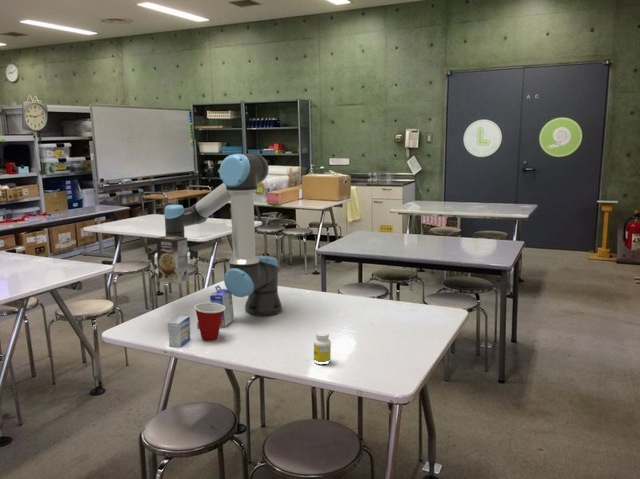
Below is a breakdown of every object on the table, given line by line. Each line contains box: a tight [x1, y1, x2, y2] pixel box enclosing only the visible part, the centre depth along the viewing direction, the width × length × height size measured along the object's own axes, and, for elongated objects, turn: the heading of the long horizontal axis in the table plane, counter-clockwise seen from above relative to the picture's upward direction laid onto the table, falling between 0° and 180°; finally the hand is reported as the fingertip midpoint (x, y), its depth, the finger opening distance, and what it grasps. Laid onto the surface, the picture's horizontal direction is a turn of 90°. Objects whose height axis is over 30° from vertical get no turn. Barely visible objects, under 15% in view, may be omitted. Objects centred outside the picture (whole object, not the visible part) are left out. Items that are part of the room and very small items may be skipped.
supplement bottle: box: [313, 330, 332, 362], centre depth 169 cm, size 5×5×10 cm
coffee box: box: [155, 235, 189, 285], centre depth 191 cm, size 9×6×16 cm
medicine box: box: [167, 315, 191, 348], centre depth 183 cm, size 8×4×9 cm, turn 168°
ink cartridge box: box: [209, 284, 235, 327], centre depth 202 cm, size 10×6×14 cm, turn 169°
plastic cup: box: [193, 302, 225, 342], centre depth 187 cm, size 11×11×12 cm
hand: (172, 260), depth 187 cm, fingers closed on coffee box, 10 cm apart
